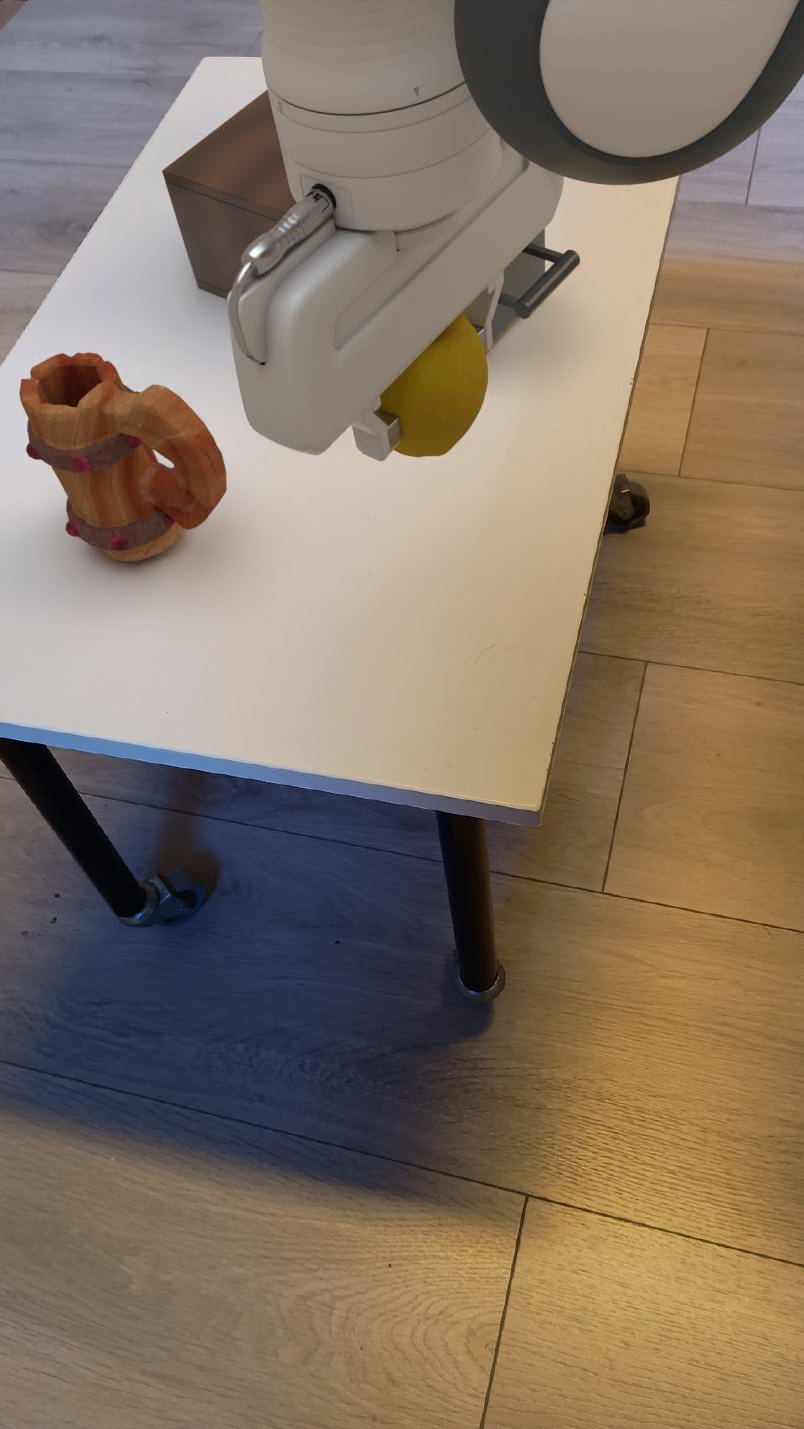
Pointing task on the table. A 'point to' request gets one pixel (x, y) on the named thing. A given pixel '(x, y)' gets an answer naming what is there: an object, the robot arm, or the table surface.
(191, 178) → the cabinet
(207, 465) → the mug
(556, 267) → the drawer
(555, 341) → the table surface
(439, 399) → the apple
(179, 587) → the table surface
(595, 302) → the table surface
